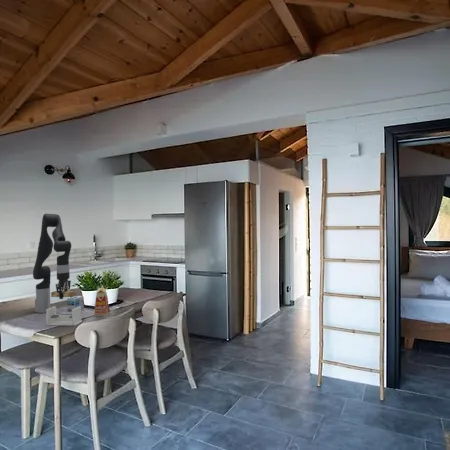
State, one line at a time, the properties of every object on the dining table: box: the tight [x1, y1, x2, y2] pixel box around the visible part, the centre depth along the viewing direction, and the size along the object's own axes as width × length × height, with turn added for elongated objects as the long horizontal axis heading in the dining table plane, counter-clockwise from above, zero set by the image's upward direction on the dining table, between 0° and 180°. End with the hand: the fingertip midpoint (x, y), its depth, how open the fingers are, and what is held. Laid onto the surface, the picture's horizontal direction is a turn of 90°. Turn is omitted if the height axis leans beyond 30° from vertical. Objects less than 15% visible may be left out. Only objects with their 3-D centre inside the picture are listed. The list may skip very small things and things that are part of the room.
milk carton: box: [93, 285, 111, 317], centre depth 249 cm, size 9×9×20 cm
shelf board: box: [50, 290, 77, 298], centre depth 228 cm, size 14×5×3 cm, turn 84°
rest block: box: [59, 311, 72, 315], centre depth 238 cm, size 10×3×4 cm, turn 84°
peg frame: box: [45, 305, 83, 326], centre depth 228 cm, size 20×9×10 cm, turn 84°
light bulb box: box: [66, 295, 85, 313], centre depth 258 cm, size 11×7×11 cm, turn 168°
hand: (63, 297), depth 228 cm, fingers closed on shelf board, 5 cm apart
